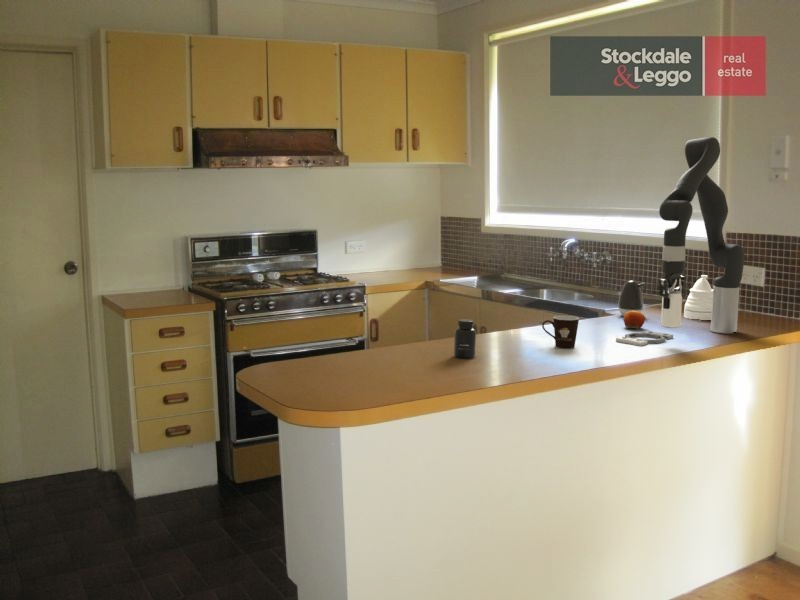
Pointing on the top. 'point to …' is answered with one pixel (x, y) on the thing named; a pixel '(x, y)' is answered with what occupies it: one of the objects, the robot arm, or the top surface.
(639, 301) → the pump dispenser
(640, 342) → the octagonal ring bracket
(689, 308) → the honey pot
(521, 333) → the top surface
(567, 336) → the coffee mug
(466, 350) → the supplement bottle
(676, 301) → the can
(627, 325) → the fruit
